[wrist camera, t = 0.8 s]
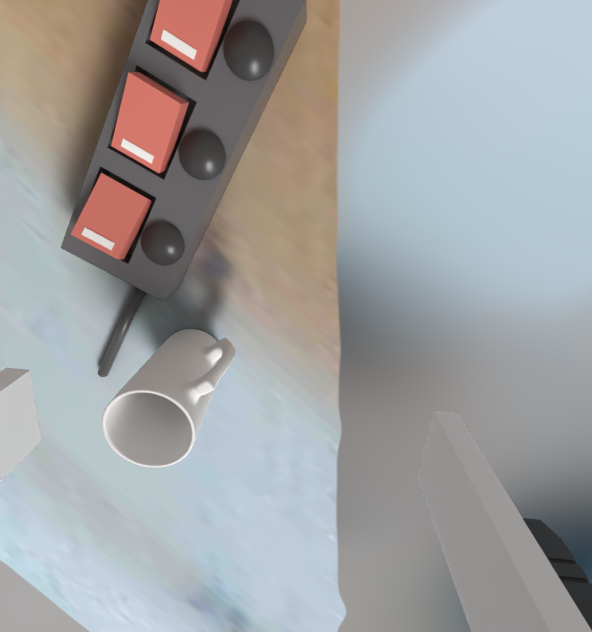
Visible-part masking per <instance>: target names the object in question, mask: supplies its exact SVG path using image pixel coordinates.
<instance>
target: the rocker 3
mask: <svg viewBox="0 0 592 632" xmlns="http://www.w3.org/2000/svg"><path fill="white" fill-rule="evenodd" d="M231 3H232V0H160V2H159V6H158V10H157V14H156V18H155V22H154V26H153V30H152V33H151V37H150V40H151V41H153V42H154V43H156V44H158V45H159V46H161V47H162V48H164V49H166V50H167V51H169V52H170V53H172V54H174V55H175V56H177V57H178V58H180V59H182V60H183V61H185V62H186V63H188V64H190V65H191V66H193V67H194V68H196V69H198V70H199V71H201V72H208V71H209V68H210V65H211V62H212V59H213V56H214V53H215V50H216V47H217V44H218V41H219V39H220V36H221V33H222V30H223V27H224V24H225V21H226V18H227V15H228V12H229V9H230V6H231Z"/></svg>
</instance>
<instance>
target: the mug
mask: <svg viewBox="0 0 592 632" xmlns="http://www.w3.org/2000/svg"><path fill="white" fill-rule="evenodd" d="M234 355H235V348H234V347H233V345H232V344H231V342H230V341H229V340H228V339H227V338H223V339H221V340H219V341H218V342H217V341H216V340H215V339H214V338H213V337H212V336H211V335H209V334H208V333H206V332H203V331H201V330H197V329H184V330H181V331H178V332H176V333H174V334H173V335H171V336H170V337H169V338H168V339H167V340H166V341H165V342H164V343H163V344H162V345H161V346H160V347H159V349H158V350H157V351H156V352H155V353H154V354H153V355H152V356H151V357H150V359H149V360H148V361H147V362H146V363H145V364H144V365H143V366H142V367H141V368H140V369H139V371H138V372H137V373H136V374H135V375H134V376H133V377H132V378H131V379H130V380H129V381H128V382H127V384H126V385H125V386H124V387H123V388H122V389H121V390H120V391H119V392H118V394H117V395H116V396H115V397H114V398H113V400H112V401H111V402H110V403H109V404H108V406H107V407H106V409H105V411H104V414H103V418H102V428H103V433H104V436H105V438H106V440H107V442H108V443H109V445H110V446H111V448H112V449H113V450H114V451H115V452H116V453H117V454H118V455H120V456H121V457H123V458H124V459H126V460H128V461H130V462H132V463H134V464H137V465H140V466H145V467H165V466H169V465H172V464H175V463H177V462H179V461H180V460H182V459H183V458H184V457H185V456H186V455H187V454H188V453H189V452H190V450H191V449H192V447H193V444H194V441H195V438H196V436H197V434H198V432H199V430H200V427H201V424H202V422H203V419H204V417H205V414H206V411H207V409H208V406H209V403H210V401H211V398H212V396H213V393H214V390H215V388H216V385H217V383H218V382H219V380H220V379H221V378H222V376H223V375H224V373H225V372H226V370H227V369H228V367H229V366H230V364H231V362H232V360H233V358H234Z"/></svg>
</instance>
